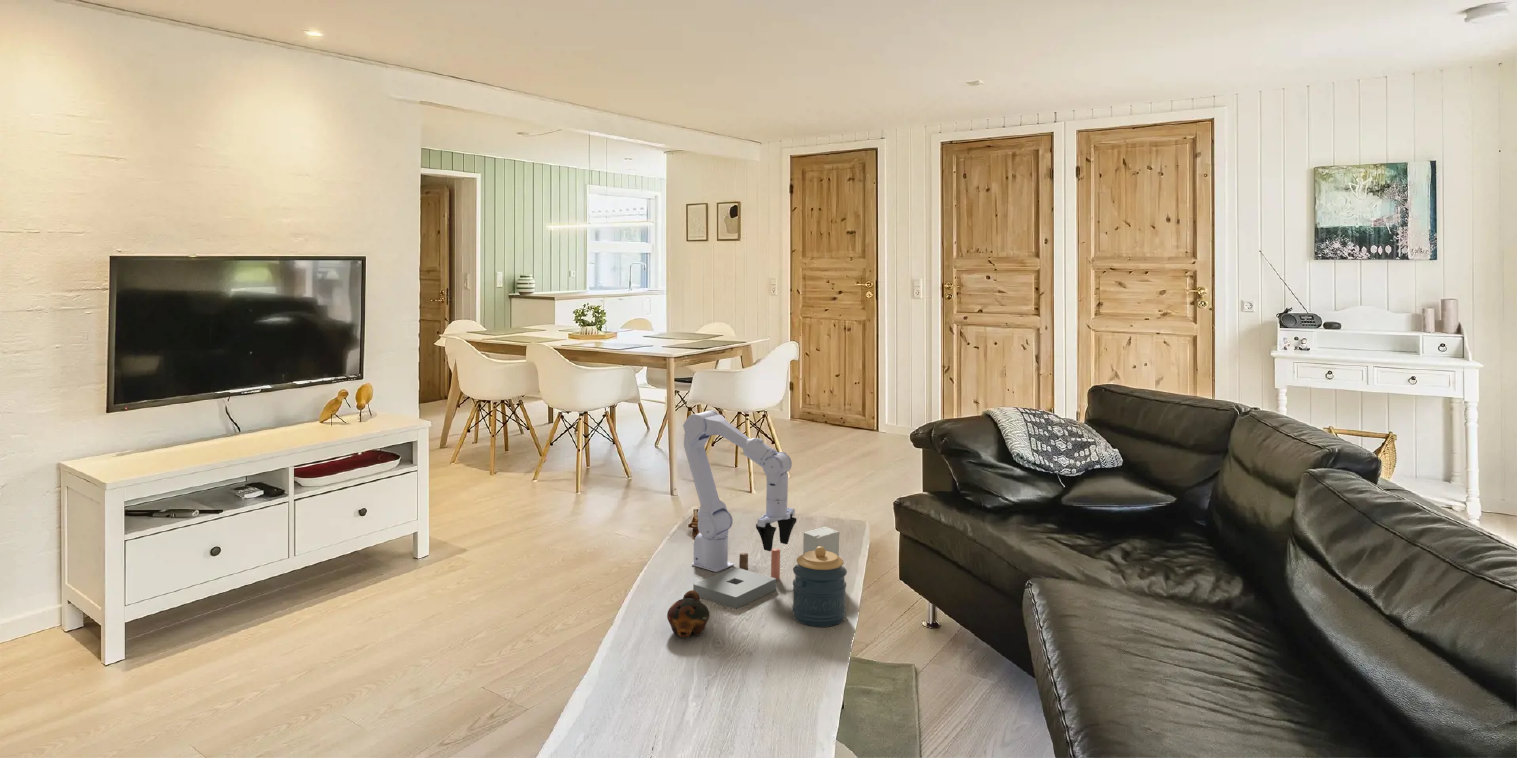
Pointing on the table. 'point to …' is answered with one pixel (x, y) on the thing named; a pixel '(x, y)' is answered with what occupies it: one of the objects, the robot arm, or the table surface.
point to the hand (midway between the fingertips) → (776, 546)
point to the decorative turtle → (688, 615)
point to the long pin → (775, 563)
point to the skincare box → (821, 540)
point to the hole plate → (735, 587)
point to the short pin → (743, 561)
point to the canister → (819, 588)
